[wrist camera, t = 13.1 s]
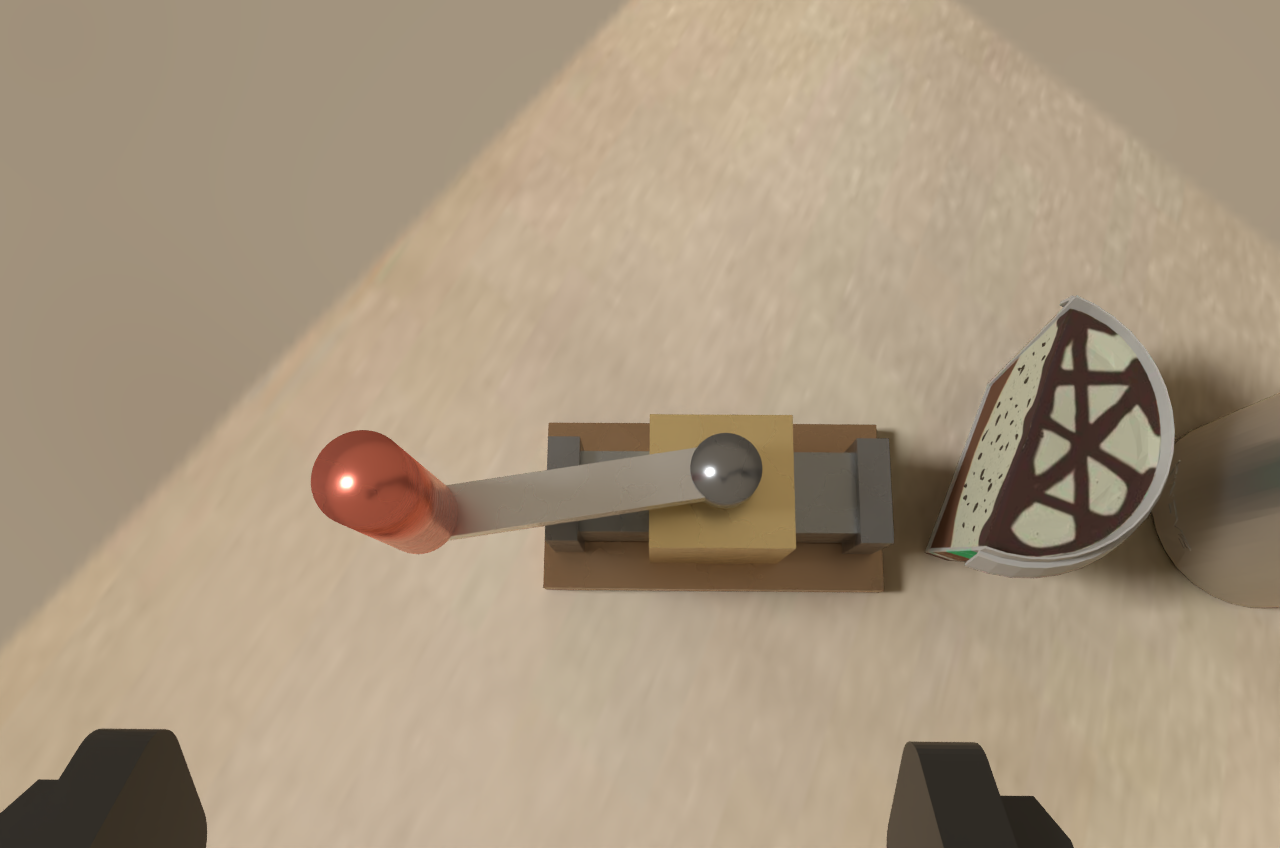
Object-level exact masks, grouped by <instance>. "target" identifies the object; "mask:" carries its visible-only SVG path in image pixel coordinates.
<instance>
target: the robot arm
mask: <svg viewBox="0 0 1280 848" xmlns="http://www.w3.org/2000/svg"><path fill="white" fill-rule="evenodd" d="M1152 514H1153V518H1154V523H1155V527H1156V531H1157V534H1158V536H1159V538H1160V540H1161V543H1162V545H1163V547H1164V549H1165V551H1166V553H1167V554H1168V555H1169V557H1170V558H1171V560H1172V561H1173V563H1174V564H1175V566H1176V567H1177V568H1178V569H1179V570H1180V571H1181V572H1182V573H1183V574H1184V575H1185V576H1186V577H1187V578H1188V579H1189V580H1190V581H1191V582H1192V583H1193V584H1195V585H1196V586H1198V587H1199V588H1201V589H1202V590H1204V591H1205V592H1207V593H1208V594H1210V595H1212V596H1214V597H1216V598H1219V599H1221V600H1224V601H1226V602H1228V603H1231V604H1236V605H1240V606H1245V607H1250V608H1274V607H1280V393H1278V394H1276V395H1273V396H1271V397H1269V398H1266V399H1264V400H1262V401H1259V402H1257V403H1255V404H1252V405H1250V406H1247V407H1245V408H1242V409H1240V410H1238V411H1236V412H1233V413H1231V414H1229V415H1227V416H1224V417H1222V418H1220V419H1217V420H1215V421H1213V422H1211V423H1208V424H1206V425H1204V426H1202V427H1199V428H1197V429H1195V430H1193V431H1190V432H1189V433H1188V434H1186V435H1185V436H1184V437H1182V438H1181V439H1180V440H1178V441H1177V442H1176V443H1175V444H1174V452H1173V457H1172V462H1171V466H1170V470H1169V475H1168V479H1167V482H1166V484H1165V486H1164V489H1163V491H1162V493H1161V496H1160V498H1159V500H1158V502H1157V503H1156V505H1155V506H1154V508H1153V509H1152ZM206 842H207V823H206V817H205V813H204V810H203V807H202V805H201V802H200V799H199V797H198V794H197V791H196V788H195V786H194V783H193V780H192V777H191V775H190V772H189V769H188V767H187V764H186V761H185V758H184V756H183V753H182V750H181V747H180V745H179V742H178V740H177V738H176V736H175V735H174V733H173V732H171V731H170V730H166V729H98V730H95V731H93V732H92V733H91V734H89V735H88V736H87V737H86V738H85V739H84V741H83V742H82V743H81V745H80V746H79V748H78V749H77V751H76V753H75V754H74V756H73V757H72V759H71V761H70V762H69V764H68V765H67V767H66V769H65V770H64V772H63V773H62V775H61V777H60V778H59V780H38V781H36V782H35V783H34V784H33V785H32V786H31V787H30V788H28V789H27V790H26V791H25V792H24V793H23V794H22V795H21V796H19V797H18V798H17V799H16V800H15V801H14V802H13V803H12V804H10V805H9V806H8V807H7V808H6V809H5V810H4V811H2V812H1V813H0V848H206ZM887 848H1074V847H1073V845H1072V842H1071V840H1070V839H1069V838H1068V836H1067V835H1066V834H1065V833H1064V832H1063V830H1062V829H1061V828H1060V827H1059V826H1058V825H1057V823H1056V822H1055V821H1054V820H1053V819H1052V817H1051V816H1050V815H1049V814H1048V813H1047V812H1046V810H1045V809H1044V808H1043V807H1042V806H1041V805H1040V803H1039V802H1038V801H1037V800H1036V799H1035V797H1034V796H1000V794H999V791H998V788H997V785H996V782H995V779H994V777H993V774H992V771H991V768H990V765H989V762H988V759H987V757H986V754H985V752H984V750H983V749H982V747H981V746H980V745H979V744H978V743H973V742H907V743H906V745H905V747H904V750H903V754H902V759H901V764H900V769H899V774H898V779H897V784H896V789H895V794H894V799H893V804H892V809H891V814H890V819H889V824H888V830H887Z"/></svg>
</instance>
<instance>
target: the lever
mask: <svg viewBox="0 0 1280 848" xmlns="http://www.w3.org/2000/svg"><path fill="white" fill-rule="evenodd" d="M761 477H762V461H761V457H760V455H759V453H758V451H757V449H756V448H755V447H754V445H753V444H752V443H751V442H749V441H748V440H747V439H745V438H744V437H742V436H739V435H736V434H732V433H719V434H715V435H712V436H710V437H708V438H706V439H705V440H703V441H702V442H701V443H700V444H699V445H698V447H697V448H690V449H683V450H677V451H670V452H664V453H657V454H650V455H644V456H637V457H631V458H624V459H617V460H611V461H604V462H598V463H591V464H584V465H578V466H571V467H565V468H558V469H551V470H545V471H538V472H532V473H525V474H518V475H512V476H505V477H499V478H492V479H485V480H479V481H472V482H466V483H459V484H452V485H445V484H443V483H442V482H441V481H440V480H439V479H437V478H436V477H435V476H434V475H433V474H431V473H430V472H429V471H428V470H427V469H426V468H424V467H423V466H422V465H421V464H420V463H418V462H417V461H416V460H415V459H414V458H412V457H411V456H410V455H409V454H408V453H406V452H405V451H404V450H403V449H402V448H401V447H399V446H398V445H397V444H396V443H395V442H393V441H392V440H391V439H390V438H388V437H386V436H385V435H382V434H380V433H377V432H374V431H368V430H359V431H352V432H348V433H345V434H343V435H341V436H339V437H337V438H335V439H334V440H332V441H331V442H330V443H329V444H327V445H326V447H325V448H324V449H323V450H322V451H321V453H320V454H319V455H318V457H317V459H316V461H315V464H314V466H313V470H312V475H311V488H312V493H313V497H314V499H315V501H316V503H317V505H318V507H319V508H320V509H321V511H322V512H323V513H324V514H325V515H326V516H328V517H329V518H330V519H332V520H334V521H336V522H338V523H340V524H342V525H344V526H347V527H349V528H351V529H354V530H356V531H358V532H360V533H363V534H365V535H367V536H370V537H372V538H374V539H376V540H379V541H381V542H383V543H386V544H388V545H390V546H393V547H395V548H397V549H399V550H402V551H404V552H407V553H412V554H424V553H429V552H431V551H434V550H436V549H438V548H439V547H441V546H442V545H444V544H445V543H446V542H447V541H449V540H455V539H462V538H469V537H475V536H482V535H488V534H495V533H501V532H508V531H514V530H521V529H527V528H534V527H541V526H547V525H554V524H560V523H567V522H573V521H580V520H586V519H593V518H599V517H606V516H613V515H619V514H626V513H632V512H639V511H645V510H652V509H658V508H665V507H671V506H678V505H685V504H691V503H698V502H705V503H707V504H709V505H711V506H713V507H717V508H733V507H736V506H739V505H741V504H743V503H744V502H746V501H747V500H748V499H749V498H750V497H751V496H752V495H753V493H754V492H755V490H756V489H757V487H758V485H759V483H760V481H761Z"/></svg>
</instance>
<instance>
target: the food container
mask: <svg viewBox="0 0 1280 848" xmlns="http://www.w3.org/2000/svg"><path fill="white" fill-rule="evenodd" d="M1060 306H1062V307H1063V308H1062V309H1061V310H1060V311H1059V312H1058V313H1057V314H1056V315H1055V316H1054V317H1053V318H1052V319H1051V320H1050V321H1049V322H1048V323H1047V324H1046V325H1045V326H1044V327H1043V328H1042V329H1041V330H1040V331H1039V332H1038V333H1037V334H1036V335H1035V336H1034V337H1033V338H1032V339H1031V340H1030V341H1029V343H1028V344H1027V345H1026V346H1025V347H1024V348H1023V349H1022V350H1021V351H1020V352H1019V353H1018V354H1017V355H1016V356H1015V357H1014V358H1013V359H1012V360H1011V361H1010V362H1009V363H1008V364H1007V365H1006V366H1005V367H1004V368H1003V369H1002V370H1001V371H1000V372H999V373H998V374H997V375H996V376H995V377H994V378H993V379H992V380H991V381H990V382H989V383H988V385H987V387H986V390H985V393H984V395H983V398H982V401H981V403H980V406H979V409H978V411H977V414H976V417H975V420H974V422H973V425H972V428H971V430H970V433H969V436H968V438H967V441H966V444H965V446H964V449H963V452H962V454H961V457H960V460H959V462H958V465H957V468H956V470H955V473H954V476H953V478H952V481H951V484H950V486H949V489H948V492H947V494H946V497H945V500H944V502H943V505H942V508H941V510H940V513H939V516H938V518H937V521H936V524H935V526H934V529H933V532H932V534H931V537H930V540H929V542H928V545H927V548H926V550H925V553H927V554H930V555H933V556H936V557H939V558H942V559H945V560H950V561H967V562H966V563H965V566H967V567H970V568H973V569H976V570H979V571H982V572H985V573H988V574H994V575H1000V576H1005V577H1011V578H1040V577H1047V576H1055V575H1060V574H1064V573H1067V572H1070V571H1073V570H1077V569H1080V568H1083V567H1085V566H1087V565H1089V564H1091V563H1093V562H1095V561H1097V560H1098V559H1100V558H1102V557H1104V556H1105V555H1107V554H1108V553H1109V552H1111V551H1112V550H1113V549H1115V548H1116V547H1117V546H1119V545H1120V544H1121V543H1122V542H1123V541H1125V540H1126V539H1127V538H1128V537H1129V536H1130V535H1131V534H1132V533H1133V532H1134V531H1135V530H1136V529H1137V528H1138V527H1139V526H1140V525H1141V524H1142V523H1143V522H1144V521H1145V519H1146V518H1147V517H1148V515H1149V514H1150V512H1151V511H1152V509H1153V508H1154V506H1155V505H1156V503H1157V502H1158V500H1159V498H1160V496H1161V493H1162V491H1163V489H1164V486H1165V484H1166V482H1167V479H1168V475H1169V470H1170V466H1171V462H1172V457H1173V452H1174V435H1175V428H1174V419H1173V410H1172V406H1171V402H1170V398H1169V395H1168V391H1167V387H1166V385H1165V383H1164V381H1163V378H1162V376H1161V374H1160V372H1159V369H1158V367H1157V366H1156V364H1155V362H1154V361H1153V359H1152V358H1151V356H1150V355H1149V353H1148V351H1147V350H1146V348H1145V347H1144V346H1143V345H1142V344H1141V343H1140V341H1139V340H1138V339H1137V338H1136V337H1135V336H1134V334H1133V333H1132V332H1131V331H1130V330H1129V329H1128V328H1126V327H1125V326H1124V325H1123V324H1122V323H1121V322H1120V321H1118V320H1117V319H1116V318H1115V317H1114V316H1112V315H1111V314H1109V313H1108V312H1106V311H1105V310H1103V309H1102V308H1100V307H1099V306H1097V305H1096V304H1094V303H1092V302H1089V301H1087V300H1085V299H1083V298H1081V297H1079V296H1077V295H1076V296H1075V297H1074V296H1070V297H1068V298H1067V299H1065V300H1063V301H1061V302H1060Z"/></svg>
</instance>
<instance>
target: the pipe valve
mask: <svg viewBox="0 0 1280 848" xmlns="http://www.w3.org/2000/svg"><path fill="white" fill-rule="evenodd" d="M719 433H732V434H736V435H739V436H742V437H744V438H745V439H747V440H748V441H749V442H751V443H752V444H753V445H754V447H755V448H756V449H757V451H758V453H759V455H760V457H761V461H762V477H761V481H760V483H759V485H758V487H757V489H756V490H755V492H754V493H753V495H752V496H751V497H750V498H749V499H748V500H747V501H746V502H744V503H743V504H741V505H739V506H736V507H733V508H717V507H713V506H711V505H709V504H707V503H705V502H698V503H691V504H685V505H678V506H671V507H665V508H658V509H652V510H645V511H639V512H632V513H626V514H619V515H613V516H606V517H599V518H593V519H586V520H580V521H573V522H567V523H560V524H554V525H547V526H545V553H544V585H543V588H545V589H551V590H664V591H778V592H881V591H884V581H883V560H882V549H883V548H885V547H887V546H889V545H891V544H894V530H893V511H892V491H891V471H890V451H889V438H877V434H876V425H831V424H793V416H792V415H662V414H650V423H549V429H548V458H547V470H551V469H558V468H565V467H571V466H578V465H584V464H591V463H598V462H604V461H611V460H617V459H624V458H631V457H637V456H644V455H650V454H657V453H664V452H670V451H677V450H683V449H690V448H697V447H698V445H699V444H700V443H701V442H702V441H703V440H705V439H706V438H708V437H710V436H712V435H715V434H719Z"/></svg>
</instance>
